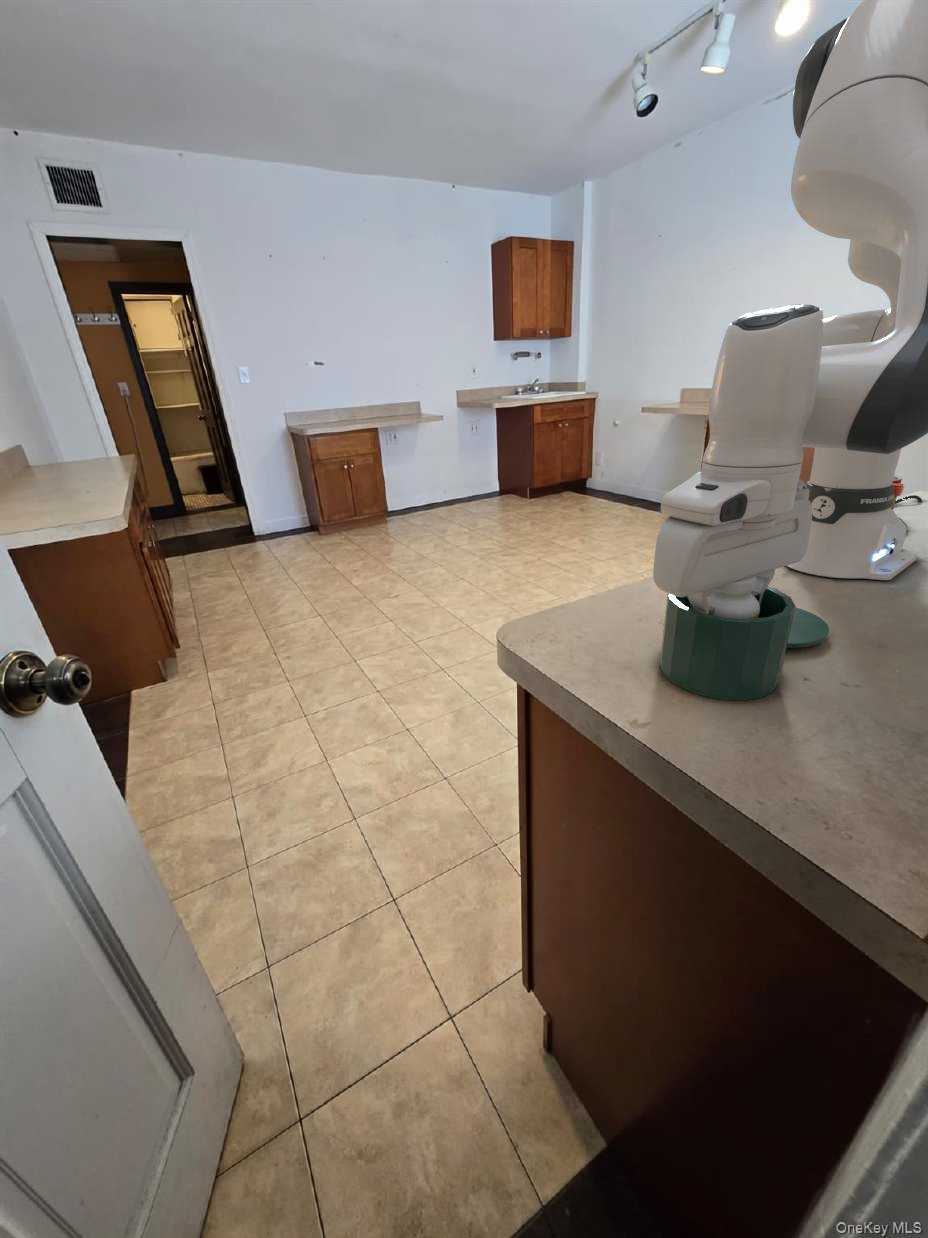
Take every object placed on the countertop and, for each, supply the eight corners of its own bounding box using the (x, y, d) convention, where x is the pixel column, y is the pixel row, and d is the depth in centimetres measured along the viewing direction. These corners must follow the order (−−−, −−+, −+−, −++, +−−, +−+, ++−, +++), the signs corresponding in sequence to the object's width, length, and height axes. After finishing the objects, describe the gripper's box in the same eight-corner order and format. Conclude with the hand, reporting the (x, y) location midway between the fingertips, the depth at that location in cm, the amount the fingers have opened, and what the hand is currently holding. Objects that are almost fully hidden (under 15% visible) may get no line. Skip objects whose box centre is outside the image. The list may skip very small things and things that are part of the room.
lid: (755, 601, 78) (761, 572, 76) (850, 634, 67) (859, 601, 65) (691, 622, 73) (695, 592, 71) (782, 662, 62) (790, 627, 60)
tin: (709, 637, 69) (719, 571, 65) (802, 679, 58) (821, 602, 54) (638, 663, 64) (644, 592, 60) (725, 713, 54) (740, 632, 50)
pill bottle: (755, 682, 57) (774, 586, 53) (693, 680, 59) (707, 585, 54) (739, 654, 63) (755, 565, 58) (683, 652, 65) (694, 565, 60)
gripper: (782, 473, 59) (761, 585, 65) (648, 500, 51) (637, 625, 57) (840, 480, 54) (811, 601, 59) (700, 511, 46) (683, 647, 52)
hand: (725, 613), depth 58 cm, fingers closed on pill bottle, 6 cm apart
